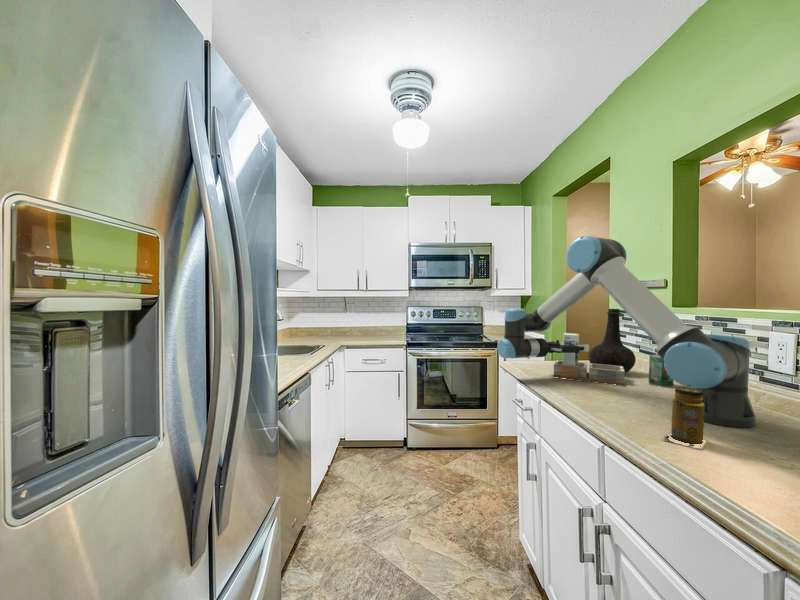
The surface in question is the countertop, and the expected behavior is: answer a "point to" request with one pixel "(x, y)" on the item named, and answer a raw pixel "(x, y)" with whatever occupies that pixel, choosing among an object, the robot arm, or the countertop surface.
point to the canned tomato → (658, 372)
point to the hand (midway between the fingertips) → (580, 346)
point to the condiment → (687, 416)
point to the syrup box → (570, 358)
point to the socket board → (591, 372)
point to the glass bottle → (612, 346)
